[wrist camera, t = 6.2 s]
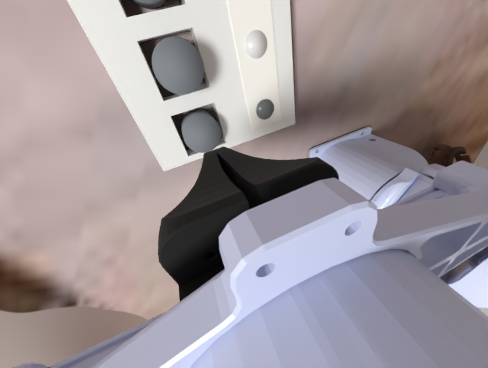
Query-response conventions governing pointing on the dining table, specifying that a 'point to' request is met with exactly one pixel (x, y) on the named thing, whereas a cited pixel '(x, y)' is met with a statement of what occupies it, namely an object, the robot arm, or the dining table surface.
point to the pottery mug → (448, 155)
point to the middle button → (177, 65)
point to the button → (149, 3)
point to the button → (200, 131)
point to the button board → (215, 67)
